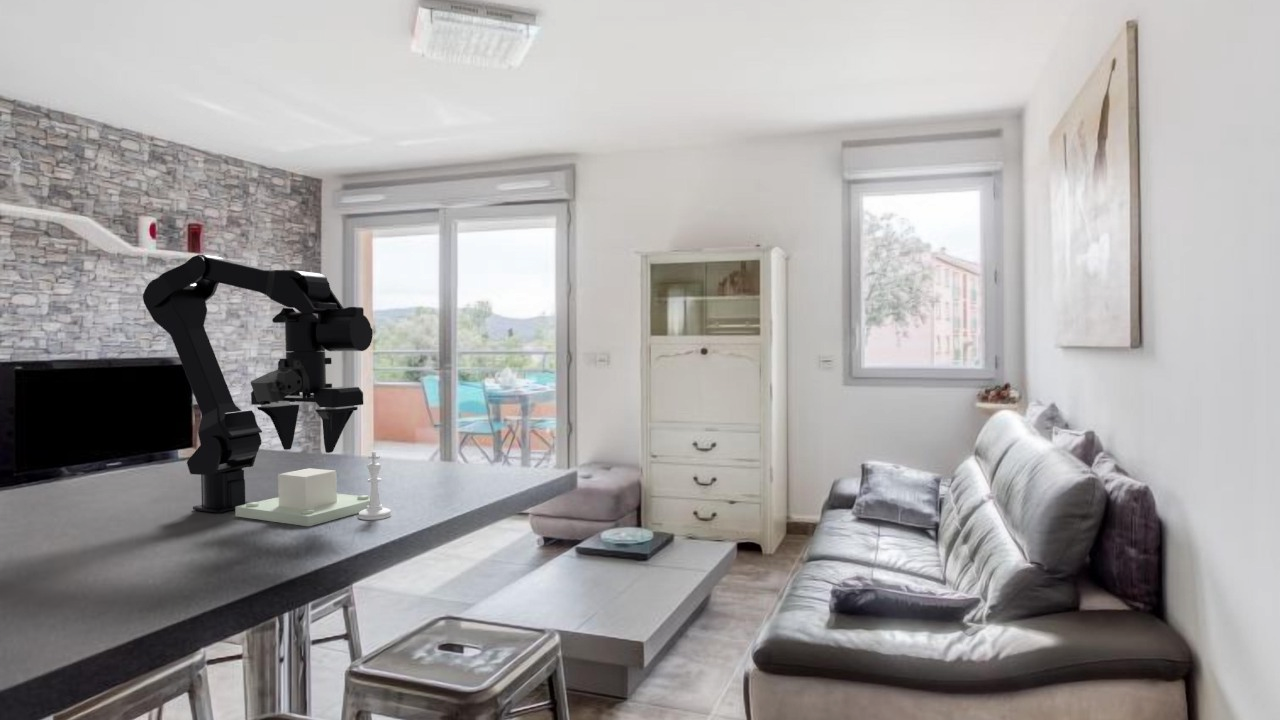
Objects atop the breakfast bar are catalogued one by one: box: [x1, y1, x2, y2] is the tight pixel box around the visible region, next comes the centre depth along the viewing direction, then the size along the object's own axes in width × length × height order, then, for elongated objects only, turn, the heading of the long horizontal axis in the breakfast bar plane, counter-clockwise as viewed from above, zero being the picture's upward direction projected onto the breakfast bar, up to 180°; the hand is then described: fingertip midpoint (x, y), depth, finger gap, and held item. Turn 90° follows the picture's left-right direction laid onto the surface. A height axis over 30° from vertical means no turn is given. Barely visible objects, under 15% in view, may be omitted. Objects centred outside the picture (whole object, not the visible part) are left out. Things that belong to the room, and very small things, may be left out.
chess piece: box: [357, 451, 393, 521], centre depth 120 cm, size 5×5×10 cm
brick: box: [277, 467, 338, 509], centre depth 122 cm, size 6×6×5 cm
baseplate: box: [234, 493, 370, 527], centre depth 123 cm, size 16×14×2 cm
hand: (307, 451), depth 122 cm, fingers open, 9 cm apart
